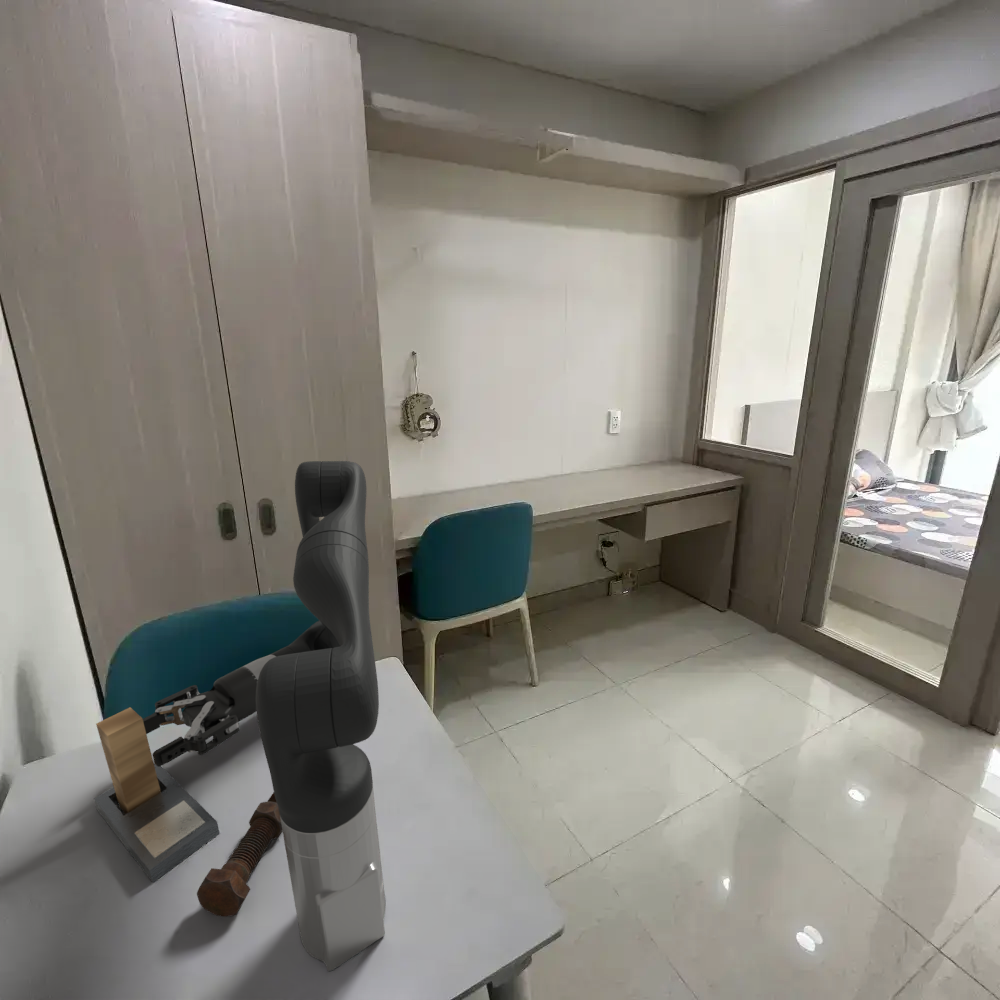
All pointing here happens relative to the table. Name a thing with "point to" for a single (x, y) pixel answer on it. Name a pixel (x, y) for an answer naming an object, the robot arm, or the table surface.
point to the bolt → (240, 863)
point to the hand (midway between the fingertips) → (141, 747)
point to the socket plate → (160, 826)
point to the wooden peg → (129, 759)
